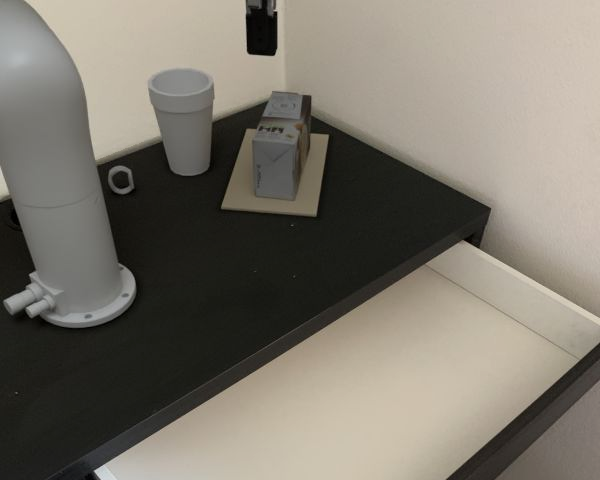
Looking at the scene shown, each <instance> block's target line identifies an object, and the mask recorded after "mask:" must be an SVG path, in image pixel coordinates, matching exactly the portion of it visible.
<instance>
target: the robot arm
mask: <svg viewBox="0 0 600 480" xmlns="http://www.w3.org/2000/svg"><path fill="white" fill-rule="evenodd" d="M278 14H279V13H278V11H277V0H245V39H246V40H245V41H246V53H247V55H249V56H260V57H261V56H263V57H275V56H276V54H277V51H278V47H279V46H278V45H279V43H278V42H279V41H278V40H279V39H278V37H279V34H278V32H279V31H278V30H279V29H278V26H279V25H278V21H279V20H278V16H279V15H278ZM90 129H91V128H90V120H89V110H88V99H87V95H86V90H85V86H84V82H83V80H82V76H81V75H80V72H79V69H78V67H77V65H76V63H75V61H74V59H73V58H72V56H71V54H70V52H69V51H68V49H67V48H66V46H65V45H64V44H63V43H62V41H61V40H60V39H59V37H58V35H56V33H55V32H54V31H53V30H52V28H51V27H50V26H49V25H48V23H47V22H46V21H45V20H44V18H43V17H42V16H41V14H39V12H38V11H37V10H36V9H35V8H34V7H33V6H32V5H31V4H30V3H28V1H26V0H0V171H1V174H2V176H3V179H4V181H5V185H6V188H7V191H8V193H9V196H10V198H11V201H12V204H13V207H14V210H15V212H16V216H17V219H18V222H19V226H20V228H21V230H22V233H23V237H24V240H25V242H26V245H27V248H28V250H29V254H30V257H31V259H32V263H33V265H34V268H35V270H34V271H33V272H31V273H29V274H28V276H29V279H30V283H29V284H28V285H26V286H25V290H23V291H21V292H19V293H15V294H13V295H11V296H10V297H8V298H6V299H4V300H3V301H2V304H3V306H4V308H5V309H6V311H7V312H8V313H9V314H10V315H11V316H14V315H16V314H17V313H19V312H21V311H23V310H25V313H26V314H27V315H28V317H29V318H31V319H34V318H35V317H37V316H40V317H41V318H42V319H44V321H46V322H48V323H50V324H52V325H55V326H58V327H62V328H63V327H64V328H72V329H79V328H80V329H84V328H90V327H96V326H100V325H103V324H105V323H108V322H110V321H112V320H114V319H116V318H117V317H120V316H121V315H122V314H123V313H125V311H127V310H128V309H129V308H130V306H131V305H132V304H133V302H134V300H135V299H136V296H137V284H136V280H135V277H134V274H133V273H132V272H131V270H130V269H129V268H128V267H126V266H125V265H123V264H121V263H119V259H118V255H117V251H116V246H115V242H114V238H113V233H112V227H111V222H110V219H109V215H108V211H107V210H108V209H107V206H106V202H105V197H104V193H103V192H104V191H103V188H102V183H101V179H100V175H99V171H98V166H97V161H96V157H95V153H94V147H93V143H92V142H93V141H92V136H91V130H90Z"/></svg>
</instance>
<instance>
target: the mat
mask: <svg viewBox="0 0 600 480" xmlns="http://www.w3.org/2000/svg"><path fill="white" fill-rule="evenodd" d="M256 130H257V128H256V129H255V128H246V130H245V133H244V136H243V140H242V142H241V146H240V148H239V151H238V155H237V158H236V161H235V164H234V167H233V170H232V173H231V176H230V179H229V182H228V185H227V188H226V191H225V194H224V198H223V200H222V203H221V206H220V208H221V210H229V211H230V210H231V211H240V212H241V211H242V212H251V213H253V212H254V213H264V214H265V213H266V214H277V215H289V216H301V217H315V218H317V214H318V208H319V202H320V195H321V189H322V183H323V175H324V170H325V164H326V157H327V150H328V145H329V138H330V135H329V134H323V133H311V135H310V150H309V153H308V157H307V160H306V163H305V167H304V170H303V174H302V177H301V181H300V184H299V188H298V191H297V194H296V198H295V200H294V201H292V200H283V199H274V198H265V197H256V196H255V193H254V174H253V152H252V139H253V137H254V135H255V132H256Z"/></svg>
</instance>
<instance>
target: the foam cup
mask: <svg viewBox="0 0 600 480" xmlns="http://www.w3.org/2000/svg"><path fill="white" fill-rule="evenodd" d="M146 83H147V89H148V97H149V101H150V105H152V108H153V111H154V114H155V115H154V116H155V119H156V122H157V126H158V129H159V133H160V137H161V140H162V144H163V148H164V151H165V156H166V158H167V163H168V166H169V168H170V171H172V172H173V173H174V174H175V175H180V176H186V177H187V176H191V177H192V176H197V175H201V174H203V173H205V172H206V171H208V170H209V167H210V166H211V164H210V163H211V149H212V131H213V114H214V113H213V112H214V100H215V98H216V96H215V85H214V79H213V77H212V75H211V74H209V73H207V72H206V71H204V70H201V69H196V68H191V67H174V68H169V69H163V70H162V69H161V70H160V71H158V72H156V73H154V74H152V75H150V77H149V78H148V79H147V80H146Z"/></svg>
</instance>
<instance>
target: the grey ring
mask: <svg viewBox="0 0 600 480" xmlns="http://www.w3.org/2000/svg"><path fill="white" fill-rule="evenodd" d="M119 172H125V173H127V180H128V183H129V185H128V186H127V187H124V188H118V187H116V186H115V184H114V181H113V176H114V175H116V174H117V173H119ZM107 179H108V181H107V182H108V185H109V187H110V189H111V190H112V191H113V192H114V193H116V194H119V195H126V194H129V193H130V192H132V190H133V189H135V181H134V175H133V171H132V169H130V168H128V167H126V166H124V165H116V166H114V167H112V168H111V169H110V170H109V171H108V177H107Z"/></svg>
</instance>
